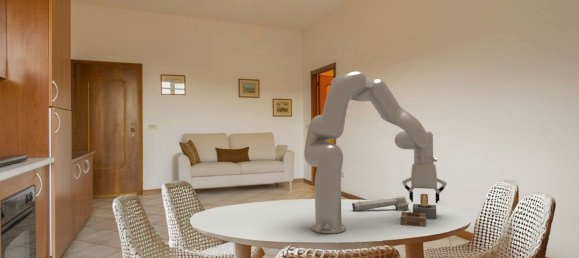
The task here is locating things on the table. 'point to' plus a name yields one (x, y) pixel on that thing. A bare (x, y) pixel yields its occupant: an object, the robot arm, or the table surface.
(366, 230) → the table surface
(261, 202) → the table surface
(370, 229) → the table surface
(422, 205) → the brass pin
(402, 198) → the light grey piece
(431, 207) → the charcoal dock
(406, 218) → the walnut mount
